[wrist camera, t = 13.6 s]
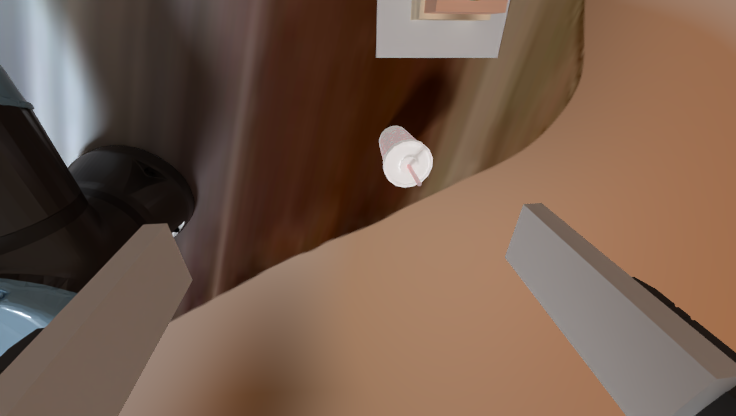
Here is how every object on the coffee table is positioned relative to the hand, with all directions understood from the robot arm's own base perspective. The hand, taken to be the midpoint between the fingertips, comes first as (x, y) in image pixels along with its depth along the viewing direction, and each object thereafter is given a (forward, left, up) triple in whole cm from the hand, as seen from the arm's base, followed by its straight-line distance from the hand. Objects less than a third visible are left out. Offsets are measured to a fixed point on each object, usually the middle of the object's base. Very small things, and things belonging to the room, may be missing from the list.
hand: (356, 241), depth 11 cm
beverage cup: (+8, -7, -32) cm, 34 cm away
